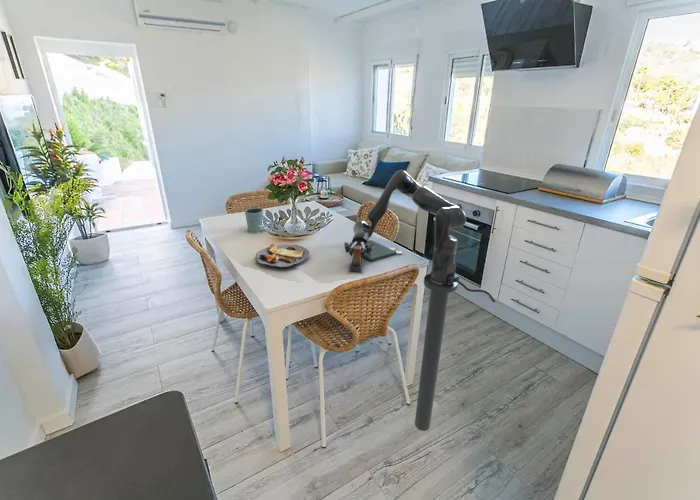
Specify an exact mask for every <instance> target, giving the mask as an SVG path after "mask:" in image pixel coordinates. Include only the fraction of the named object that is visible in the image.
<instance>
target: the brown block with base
mask: <svg viewBox="0 0 700 500" xmlns="http://www.w3.org/2000/svg"><path fill="white" fill-rule="evenodd" d="M363 267H364V258H362V256H361V246H354V251H353V254H352V260H351V263H350V266H349V272H350V273H356V274H357V273H358V274H361V273H362V271H363Z"/></svg>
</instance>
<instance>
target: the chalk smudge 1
mask: <svg viewBox="0 0 700 500" xmlns="http://www.w3.org/2000/svg"><path fill="white" fill-rule="evenodd" d="M395 252H396V254H395V255H402V254H403V251H402V250H395Z"/></svg>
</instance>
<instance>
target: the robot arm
mask: <svg viewBox="0 0 700 500" xmlns="http://www.w3.org/2000/svg"><path fill="white" fill-rule="evenodd" d="M395 190H397V191H398V192H399V193H401V194H402V195H404V196H407V197H408V198H410V199H411V200H412V202H413V203H414V204H415V206H417V207H419V209H421V210H423V211H424V212H427V213H430V214H434V215H435V216H434V231H433V236H434V237H433V238H434V245H433V253H432V260H431V270H430V273H429V274H430V275H431V277H430V280H431V281H432V282H433V283H435V284H438V285H443V286H446V285H449V284H452V283H454V282H457V283H458V285H460V286H461V287H463V288H464V290H466V291H468V292H470V293H471V292H473V293H484V294H486V295H487V296H488V297H489V298H490V301H492V303H496V300H495V298H494V297H493V295H492V294H491V293H490V292H489V291H487V290H484V289H473V288H469V287H467V285H465V284H464V283H463V282H462V281H459V280H460V275H458V274H456V270H457V262H456V254H457V248H458V238H457V237H455V236H454V235H452V234H450V230H458V229H460V228H463V227H464V226H465V225H466V221H467V216H466V214H465V211H464V210H463V208H461V207H460V206H458V205H457V204H454V203H451V202H450V201H448V200H446V199H445V198H443V197H442V196H441V195H438V194H437V193H436V192H434V191H433V190H432V189H430V188H428V187H427V186H425V185H424V186H423V185H420V184H419V183H418V182H417V181H416V180H415V179H414V178H413V177H412V176H411V175H410V174H409V173H408V172H406V171H405V170H403V169H398V170H397V171H395V172H394V174H393V175H392V176H391V177H390V179H389V181H388V183H387V184H386V186H385V188H384V190H383V191H382V193H381V195H380V197H379V198H378V199H377V201H376V202H375V204H374V205H373V206H372V207H371V209H370V210H369V211H368V213H367V214H366V218H367V220H368V221H369V222H370V224H368V223H367V222H366V221H365V220H362V219H360V220H357V221H356V222H355V223H354V225H353V233H354V235H353V236H352V240H351V242H349V243H348V242H347V241H346V242H344V250H345V252H346V253H348V255H349V256H351V257H353V251H354V246H361V257H362V256H363V255H365V253H366V252H367V253H370V252H371V251H372V250H373V245H374V244H371V245H368V241H369V239H370V238H371V237H372V236H373V234H374V231H375V229H376V227H377V225H378V223H379V222H380V221H381V219H382V218H383V217H384V216H385V215H386V213H387V211H388V208H389V204H390V199H391V196H392V194H393V193H394V192H395ZM349 246H350V247H349Z"/></svg>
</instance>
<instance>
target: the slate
mask: <svg viewBox="0 0 700 500" xmlns="http://www.w3.org/2000/svg"><path fill="white" fill-rule="evenodd" d="M371 244H374V245H373V250H372V251H371V252H370V253H367V252H366V253H365V255H363V256H361V258H362V257H363V259H366V260H368V261H370V262H374V261H377V260H380V259H385V258H387V257H391V256H395V255H397V254H396V250H395V251H393V250H391V249H389V248H390V247H387V246H384V245H383V244H381V243H378V242H376V241H374V240H371V239H370V240H368V245H371ZM349 247H350V246H349Z"/></svg>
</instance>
